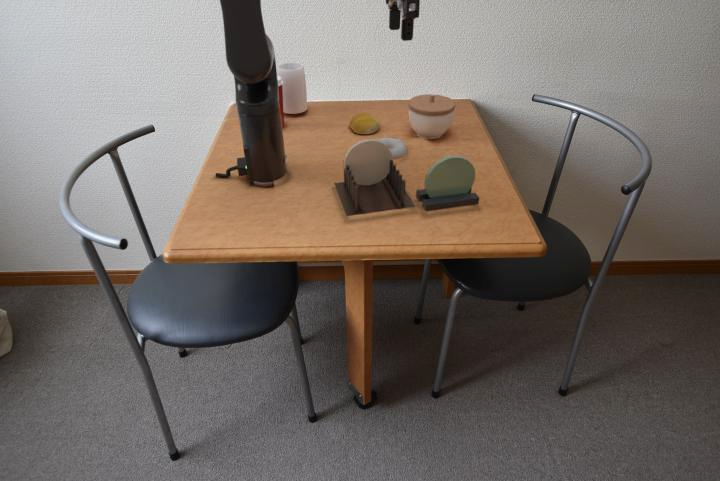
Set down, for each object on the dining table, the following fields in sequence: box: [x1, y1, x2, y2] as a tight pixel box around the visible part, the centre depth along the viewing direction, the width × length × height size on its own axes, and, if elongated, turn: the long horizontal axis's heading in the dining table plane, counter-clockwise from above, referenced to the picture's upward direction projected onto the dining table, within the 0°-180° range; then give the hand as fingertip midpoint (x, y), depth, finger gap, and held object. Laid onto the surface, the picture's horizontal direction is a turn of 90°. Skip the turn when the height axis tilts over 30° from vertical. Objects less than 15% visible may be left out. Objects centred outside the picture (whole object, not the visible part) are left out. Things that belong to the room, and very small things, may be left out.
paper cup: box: [277, 76, 285, 129], centre depth 134 cm, size 8×8×14 cm
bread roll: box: [348, 112, 380, 135], centre depth 135 cm, size 8×9×4 cm
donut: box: [376, 137, 408, 160], centre depth 122 cm, size 10×4×10 cm
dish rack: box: [334, 159, 416, 217], centre depth 104 cm, size 15×14×8 cm
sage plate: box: [424, 155, 476, 198], centre depth 100 cm, size 11×1×11 cm, turn 103°
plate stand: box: [415, 187, 480, 212], centre depth 103 cm, size 12×6×3 cm, turn 103°
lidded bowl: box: [407, 93, 456, 140], centre depth 130 cm, size 13×13×11 cm
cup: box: [276, 61, 308, 115], centre depth 143 cm, size 8×8×14 cm
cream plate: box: [343, 138, 394, 186], centre depth 105 cm, size 11×1×11 cm, turn 103°
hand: (400, 34), depth 96 cm, fingers open, 8 cm apart
